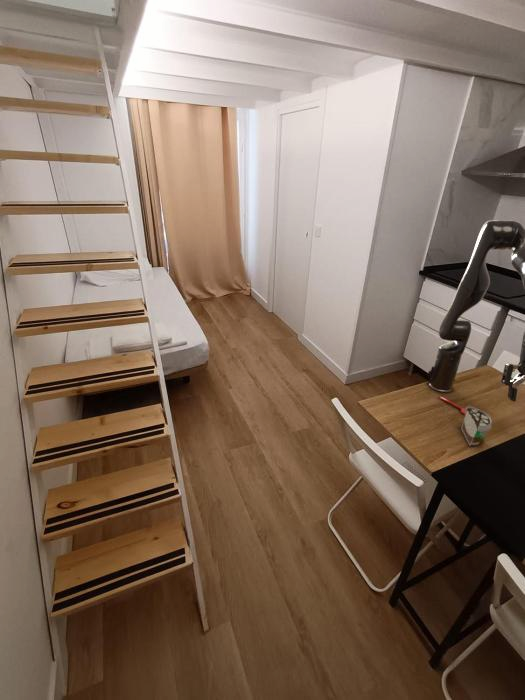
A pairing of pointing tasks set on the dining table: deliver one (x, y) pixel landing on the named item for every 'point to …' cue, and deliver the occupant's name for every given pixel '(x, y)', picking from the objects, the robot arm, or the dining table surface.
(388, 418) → the dining table surface
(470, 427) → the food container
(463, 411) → the spoon
